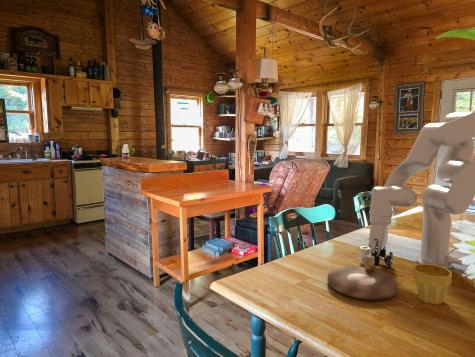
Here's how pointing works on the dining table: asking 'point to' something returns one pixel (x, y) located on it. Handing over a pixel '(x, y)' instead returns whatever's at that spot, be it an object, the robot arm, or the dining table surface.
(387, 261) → the valve
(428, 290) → the plant pot
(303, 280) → the dining table surface
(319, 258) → the dining table surface
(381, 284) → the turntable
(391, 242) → the dining table surface
